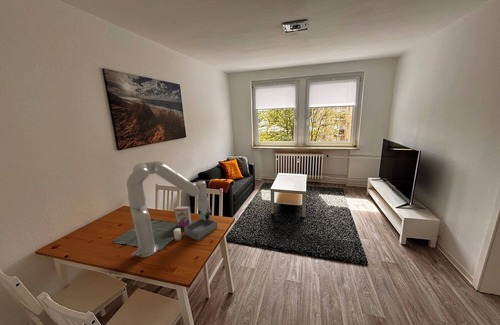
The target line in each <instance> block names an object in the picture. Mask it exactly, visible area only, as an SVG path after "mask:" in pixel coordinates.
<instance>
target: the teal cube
mask: <svg viewBox="0 0 500 325" xmlns="http://www.w3.org/2000/svg"><path fill="white" fill-rule="evenodd" d="M199 214H200V218H201V219H203V220H206V217H205V215H206V214H205V212H201V213H200V212H199ZM209 219H211V216H210V214H209Z"/></svg>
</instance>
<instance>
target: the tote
mask: <svg viewBox="0 0 500 325" xmlns="http://www.w3.org/2000/svg"><path fill="white" fill-rule="evenodd" d="M217 224H218V222H217V221H216V220H214V219H211V218H209V219H207V220H203V219H201V217H199V218H198V219H196V220H195V221H193V222H192V223H191V224H189V225H187V226H186V227H183V232H184V235H186V236H187V237H189V238H191V239H192V240H194V241H196V242H199V241H200V240H202V239H203V238H205V237H206V236H208V235H209V234H211V233H213V232H214V231H215V230H217V229H218V225H217Z"/></svg>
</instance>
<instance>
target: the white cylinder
mask: <svg viewBox="0 0 500 325" xmlns="http://www.w3.org/2000/svg"><path fill="white" fill-rule="evenodd" d="M173 236H174V241H181V240H182V238H183V237H182V236H183V235H182V230H181V227H177V228H175V229H173Z"/></svg>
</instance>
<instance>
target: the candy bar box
mask: <svg viewBox="0 0 500 325" xmlns="http://www.w3.org/2000/svg"><path fill="white" fill-rule="evenodd" d="M173 210H174V211H173V212H174V215H175V222H176V223H175V224H176V227H177V228H181V227H182V228H184V227H186V226H187V225H189V224H191V223H193V222H192V216H191V208H190V206H182V205H181V206H178V205H177V206H176V207H175V208H174V209H173Z"/></svg>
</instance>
